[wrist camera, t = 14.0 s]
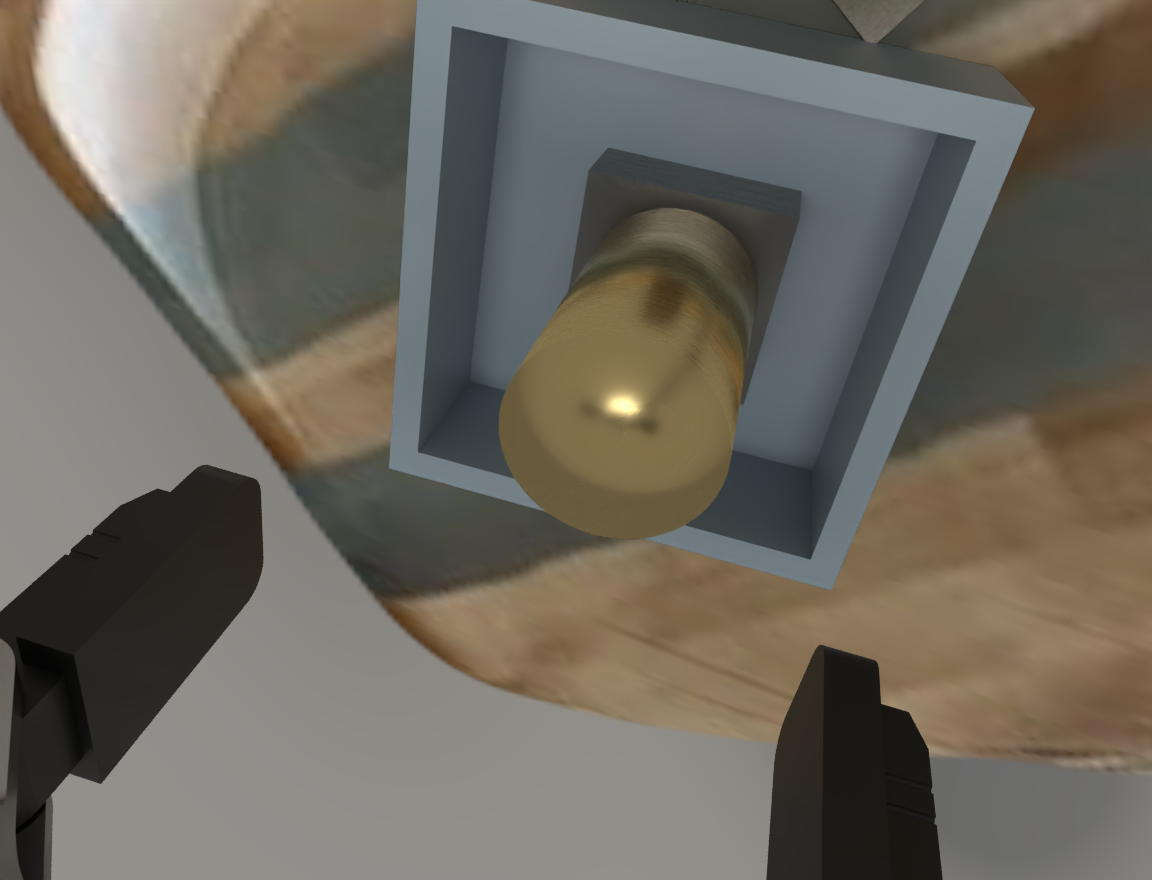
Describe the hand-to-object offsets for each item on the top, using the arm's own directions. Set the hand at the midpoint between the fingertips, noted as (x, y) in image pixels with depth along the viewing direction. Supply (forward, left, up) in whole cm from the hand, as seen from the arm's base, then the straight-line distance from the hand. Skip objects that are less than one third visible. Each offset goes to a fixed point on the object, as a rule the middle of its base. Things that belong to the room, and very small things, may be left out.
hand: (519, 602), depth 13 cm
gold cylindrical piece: (0, 0, -15) cm, 15 cm away
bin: (0, 0, -16) cm, 16 cm away
